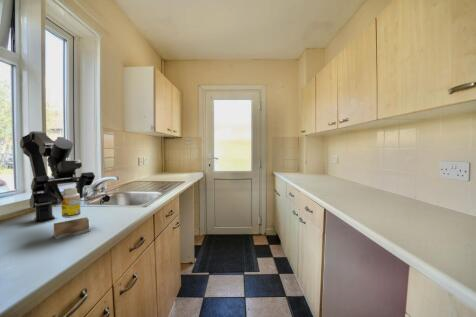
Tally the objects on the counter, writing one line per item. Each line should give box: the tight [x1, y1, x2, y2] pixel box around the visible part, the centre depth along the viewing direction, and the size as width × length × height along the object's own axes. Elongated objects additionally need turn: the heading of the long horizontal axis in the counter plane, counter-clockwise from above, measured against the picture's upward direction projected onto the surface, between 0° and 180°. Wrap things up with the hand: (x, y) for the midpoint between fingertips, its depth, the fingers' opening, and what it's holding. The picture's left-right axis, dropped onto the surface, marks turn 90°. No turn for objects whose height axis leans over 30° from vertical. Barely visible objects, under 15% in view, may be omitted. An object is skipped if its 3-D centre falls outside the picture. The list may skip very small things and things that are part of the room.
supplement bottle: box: [60, 187, 81, 219], centre depth 83 cm, size 6×6×10 cm
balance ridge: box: [53, 216, 91, 240], centre depth 83 cm, size 10×6×4 cm, turn 134°
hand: (72, 198), depth 82 cm, fingers closed on supplement bottle, 6 cm apart
